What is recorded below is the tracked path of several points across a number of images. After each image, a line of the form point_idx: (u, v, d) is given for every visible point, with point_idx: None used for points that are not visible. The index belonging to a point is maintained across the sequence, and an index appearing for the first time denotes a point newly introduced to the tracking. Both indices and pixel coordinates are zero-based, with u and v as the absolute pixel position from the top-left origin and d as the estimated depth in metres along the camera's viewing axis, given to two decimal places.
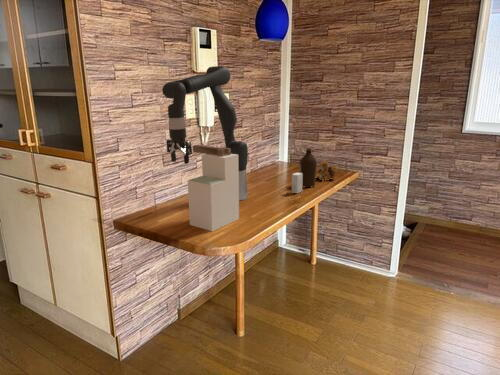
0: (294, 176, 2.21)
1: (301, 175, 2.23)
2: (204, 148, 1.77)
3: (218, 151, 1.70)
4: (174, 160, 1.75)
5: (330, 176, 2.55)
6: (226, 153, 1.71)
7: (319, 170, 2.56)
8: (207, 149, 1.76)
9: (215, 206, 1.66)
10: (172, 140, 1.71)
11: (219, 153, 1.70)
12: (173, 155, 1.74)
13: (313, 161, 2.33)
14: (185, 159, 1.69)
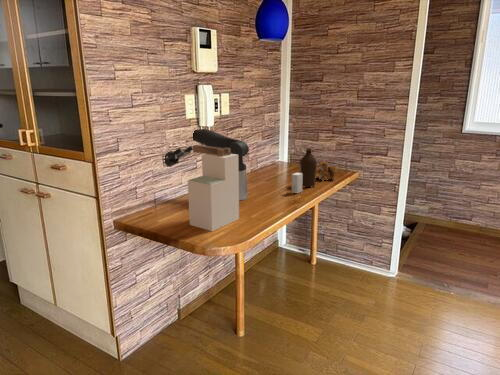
0: (294, 176, 2.21)
1: (301, 175, 2.23)
2: (204, 148, 1.77)
3: (218, 151, 1.70)
4: (190, 148, 2.00)
5: (330, 176, 2.55)
6: (226, 153, 1.71)
7: (319, 170, 2.56)
8: (207, 149, 1.76)
9: (215, 206, 1.66)
10: None
11: (219, 153, 1.70)
12: (188, 150, 2.02)
13: (313, 161, 2.33)
14: (178, 152, 1.94)
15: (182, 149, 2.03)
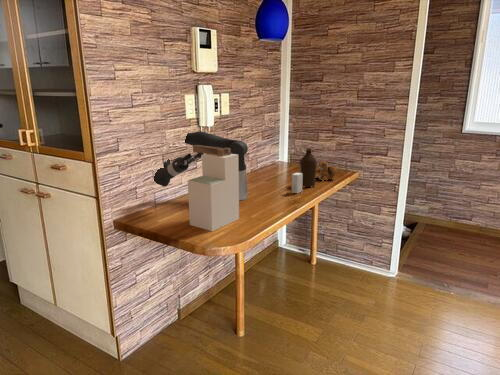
0: (294, 176, 2.21)
1: (301, 175, 2.23)
2: (204, 148, 1.77)
3: (218, 151, 1.70)
4: (201, 153, 1.86)
5: (329, 176, 2.55)
6: (226, 153, 1.71)
7: (318, 170, 2.56)
8: (207, 149, 1.76)
9: (215, 206, 1.66)
10: None
11: (219, 153, 1.70)
12: (198, 155, 1.88)
13: (313, 161, 2.33)
14: (188, 158, 1.80)
15: None
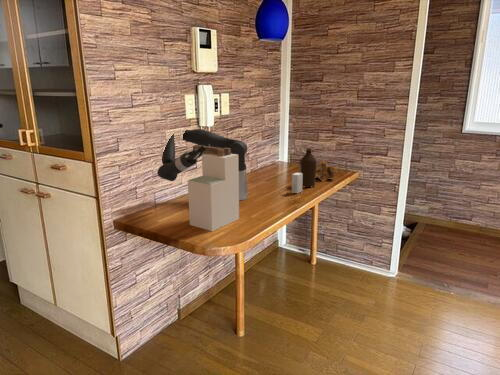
0: (294, 176, 2.21)
1: (301, 175, 2.23)
2: None
3: (218, 151, 1.70)
4: None
5: (329, 176, 2.55)
6: (226, 153, 1.71)
7: (318, 170, 2.56)
8: (207, 149, 1.76)
9: (215, 206, 1.66)
10: None
11: (219, 153, 1.70)
12: None
13: (313, 161, 2.33)
14: (202, 150, 1.77)
15: None
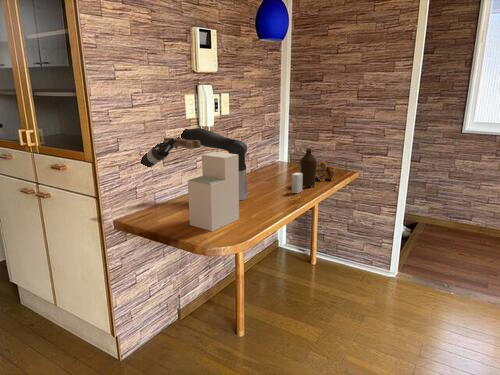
0: (294, 176, 2.21)
1: (301, 175, 2.23)
2: None
3: (187, 143, 1.68)
4: None
5: (328, 176, 2.55)
6: (195, 146, 1.69)
7: (317, 170, 2.56)
8: (177, 141, 1.73)
9: (215, 206, 1.66)
10: None
11: (188, 145, 1.67)
12: None
13: (313, 161, 2.33)
14: (172, 143, 1.75)
15: None
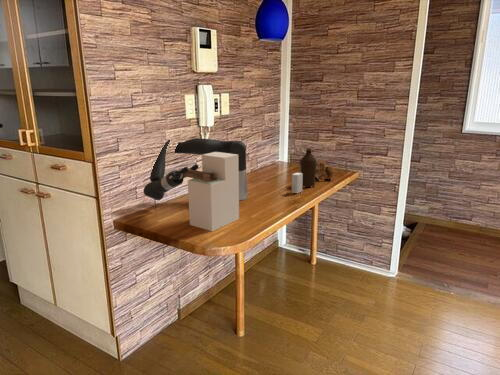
0: (294, 176, 2.21)
1: (301, 175, 2.23)
2: (190, 172, 1.72)
3: (204, 176, 1.65)
4: (196, 166, 1.75)
5: (327, 176, 2.55)
6: (212, 179, 1.66)
7: (316, 170, 2.56)
8: (193, 173, 1.70)
9: (215, 206, 1.66)
10: None
11: (205, 178, 1.65)
12: (193, 169, 1.76)
13: (313, 161, 2.33)
14: (185, 172, 1.70)
15: None
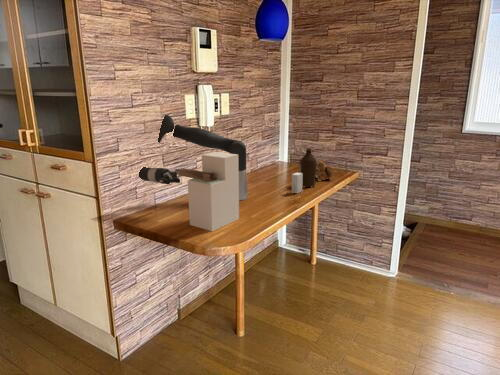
0: (294, 176, 2.21)
1: (301, 175, 2.23)
2: (190, 172, 1.72)
3: (204, 176, 1.65)
4: None
5: (326, 176, 2.55)
6: (212, 179, 1.66)
7: None
8: (193, 173, 1.70)
9: (215, 206, 1.66)
10: None
11: (205, 178, 1.65)
12: None
13: (313, 161, 2.33)
14: None
15: (178, 171, 1.85)
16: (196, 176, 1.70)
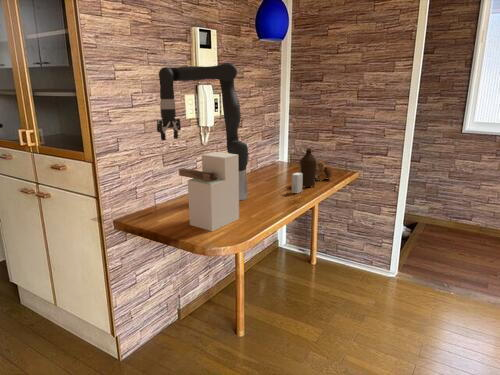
0: (294, 176, 2.21)
1: (301, 175, 2.23)
2: (190, 172, 1.72)
3: (204, 176, 1.65)
4: (175, 137, 1.97)
5: (326, 176, 2.55)
6: (212, 179, 1.66)
7: None
8: (193, 173, 1.70)
9: (215, 206, 1.66)
10: None
11: (205, 178, 1.65)
12: (174, 132, 1.97)
13: (313, 161, 2.33)
14: None
15: (175, 128, 1.94)
16: (196, 176, 1.70)
